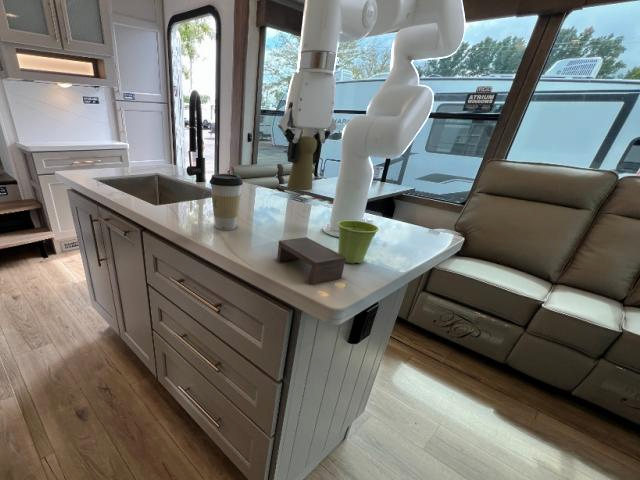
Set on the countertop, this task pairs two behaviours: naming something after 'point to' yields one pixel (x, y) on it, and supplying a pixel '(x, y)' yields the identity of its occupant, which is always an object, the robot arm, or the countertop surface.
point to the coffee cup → (225, 199)
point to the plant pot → (355, 239)
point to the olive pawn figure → (303, 165)
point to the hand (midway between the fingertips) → (303, 161)
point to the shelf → (313, 258)
